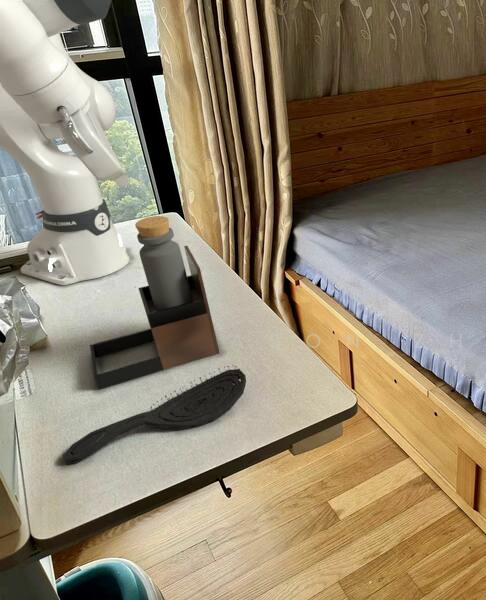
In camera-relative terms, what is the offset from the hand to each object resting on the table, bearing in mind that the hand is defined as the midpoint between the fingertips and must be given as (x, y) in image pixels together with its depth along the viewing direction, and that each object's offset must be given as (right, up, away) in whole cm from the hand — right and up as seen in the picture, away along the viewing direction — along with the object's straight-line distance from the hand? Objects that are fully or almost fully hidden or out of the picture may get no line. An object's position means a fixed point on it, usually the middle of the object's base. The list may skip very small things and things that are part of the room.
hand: (116, 166), depth 85 cm
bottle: (+8, -22, +4) cm, 24 cm away
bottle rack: (+4, -30, +6) cm, 31 cm away
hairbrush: (+11, -39, -8) cm, 41 cm away
